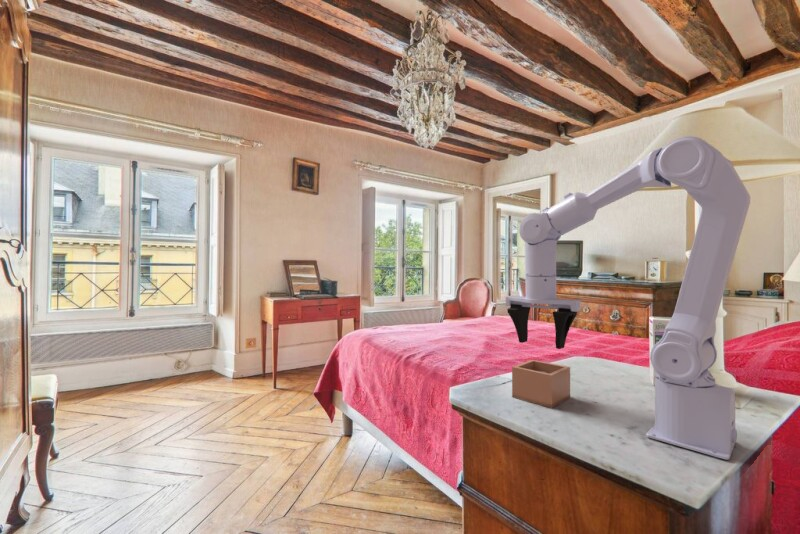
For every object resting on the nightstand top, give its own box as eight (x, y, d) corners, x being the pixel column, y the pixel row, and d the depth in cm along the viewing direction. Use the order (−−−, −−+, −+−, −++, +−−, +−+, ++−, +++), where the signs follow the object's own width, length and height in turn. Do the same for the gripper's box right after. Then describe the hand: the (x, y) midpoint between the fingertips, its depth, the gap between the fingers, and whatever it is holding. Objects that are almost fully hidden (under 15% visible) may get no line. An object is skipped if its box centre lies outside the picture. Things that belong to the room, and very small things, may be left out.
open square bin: (570, 397, 73) (570, 367, 73) (551, 408, 68) (551, 375, 68) (532, 387, 79) (532, 359, 79) (512, 397, 74) (512, 366, 74)
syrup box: (652, 386, 80) (652, 318, 80) (649, 378, 85) (649, 315, 85) (685, 390, 77) (685, 320, 77) (680, 382, 82) (680, 316, 82)
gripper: (587, 276, 71) (587, 347, 71) (517, 274, 82) (518, 336, 82) (571, 277, 66) (571, 353, 66) (499, 275, 77) (500, 341, 77)
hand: (540, 344), depth 74 cm, fingers open, 7 cm apart
